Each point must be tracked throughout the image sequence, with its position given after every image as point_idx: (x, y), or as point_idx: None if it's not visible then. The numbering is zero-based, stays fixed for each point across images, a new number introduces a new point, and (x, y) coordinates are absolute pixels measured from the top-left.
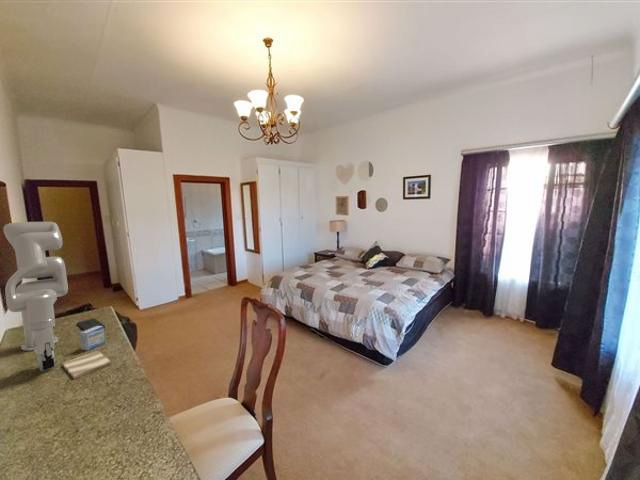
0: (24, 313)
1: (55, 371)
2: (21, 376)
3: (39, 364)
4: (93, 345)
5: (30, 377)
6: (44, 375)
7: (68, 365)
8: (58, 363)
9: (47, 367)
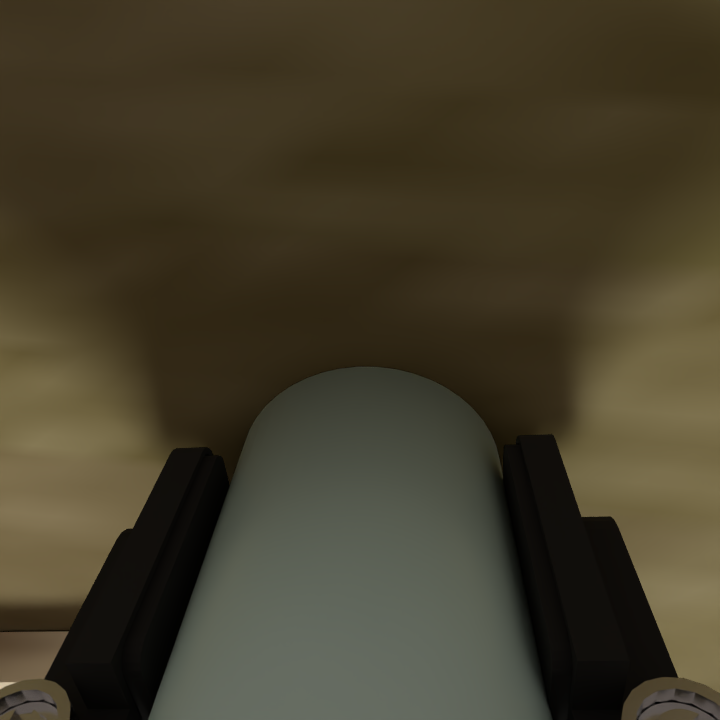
0: None
1: (71, 535)
2: (373, 18)
3: (292, 493)
4: None
5: (110, 192)
6: (11, 400)
7: None
8: None
9: (127, 533)
